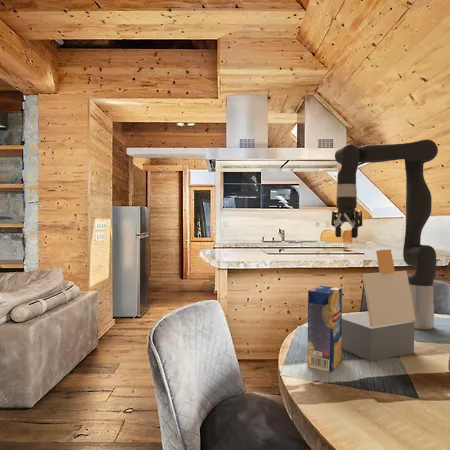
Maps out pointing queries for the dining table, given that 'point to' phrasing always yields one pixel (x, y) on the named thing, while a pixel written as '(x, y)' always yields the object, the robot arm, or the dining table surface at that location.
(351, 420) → the dining table surface
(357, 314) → the carton
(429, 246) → the robot arm
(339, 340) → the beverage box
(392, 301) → the lid flap
